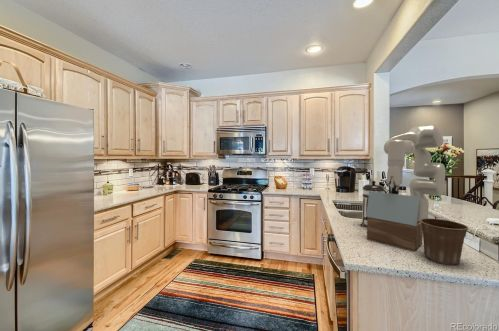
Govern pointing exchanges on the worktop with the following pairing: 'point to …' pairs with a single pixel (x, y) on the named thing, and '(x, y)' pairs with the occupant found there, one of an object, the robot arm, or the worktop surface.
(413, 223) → the lid
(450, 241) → the plant pot
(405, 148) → the robot arm
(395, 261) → the worktop surface
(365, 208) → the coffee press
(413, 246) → the box
